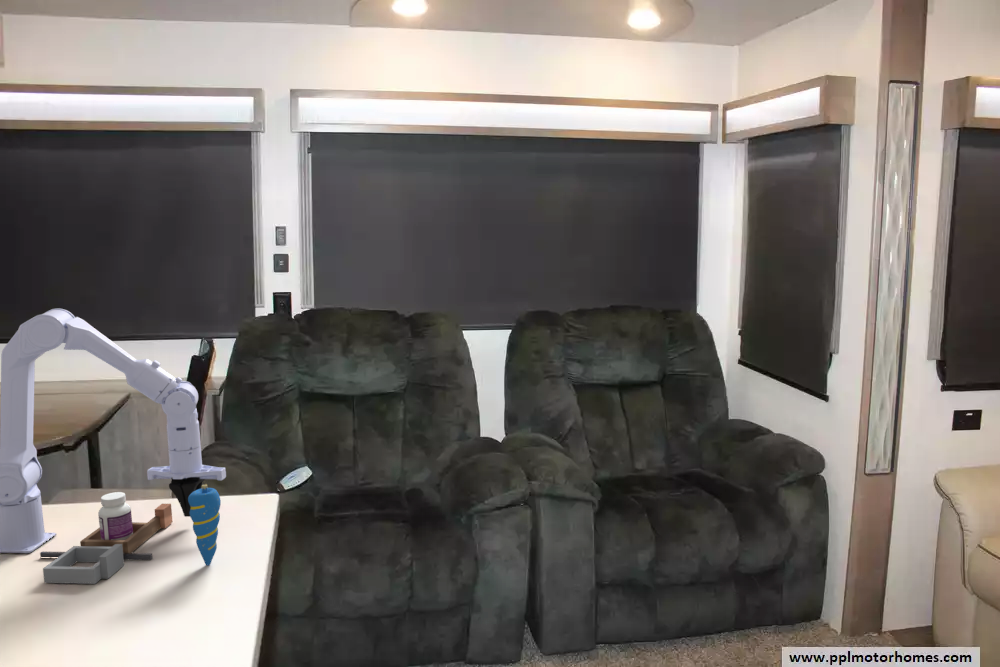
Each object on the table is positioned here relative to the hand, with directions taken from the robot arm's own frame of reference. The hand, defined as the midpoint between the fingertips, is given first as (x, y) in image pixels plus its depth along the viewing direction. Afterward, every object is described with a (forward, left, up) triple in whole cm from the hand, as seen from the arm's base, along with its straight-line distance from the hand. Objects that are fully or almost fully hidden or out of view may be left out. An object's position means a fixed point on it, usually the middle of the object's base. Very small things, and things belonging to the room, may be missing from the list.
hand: (190, 514), depth 151 cm
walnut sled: (-9, -6, -2) cm, 11 cm away
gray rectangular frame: (-10, -20, -2) cm, 22 cm away
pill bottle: (-10, -9, -3) cm, 13 cm away
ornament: (+10, -16, -3) cm, 19 cm away
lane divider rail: (-11, -14, -2) cm, 18 cm away
